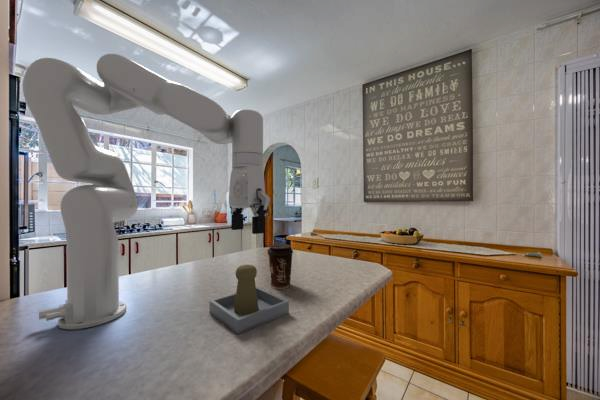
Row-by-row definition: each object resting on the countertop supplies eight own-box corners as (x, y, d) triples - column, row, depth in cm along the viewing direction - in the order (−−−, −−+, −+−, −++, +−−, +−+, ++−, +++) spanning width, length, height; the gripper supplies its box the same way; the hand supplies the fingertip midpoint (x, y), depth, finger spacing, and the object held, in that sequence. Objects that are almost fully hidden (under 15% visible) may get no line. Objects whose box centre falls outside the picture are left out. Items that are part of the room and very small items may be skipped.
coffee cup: (264, 282, 84) (264, 244, 84) (288, 279, 87) (288, 242, 87) (271, 291, 76) (270, 249, 76) (296, 288, 79) (296, 247, 79)
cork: (255, 315, 59) (255, 269, 59) (230, 315, 59) (230, 269, 59) (260, 304, 65) (260, 262, 65) (237, 304, 65) (237, 262, 65)
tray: (238, 334, 52) (238, 320, 52) (209, 312, 62) (209, 300, 62) (288, 313, 62) (288, 301, 61) (257, 297, 72) (256, 286, 72)
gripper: (217, 164, 65) (217, 229, 66) (253, 156, 53) (253, 236, 53) (242, 166, 71) (242, 227, 71) (281, 160, 58) (281, 233, 58)
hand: (247, 231), depth 62 cm, fingers open, 9 cm apart
